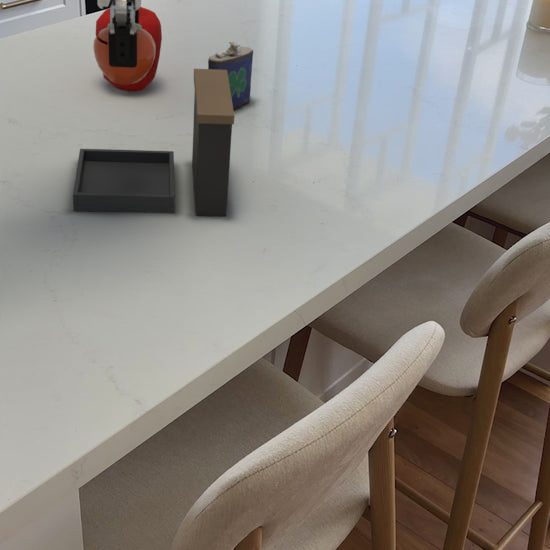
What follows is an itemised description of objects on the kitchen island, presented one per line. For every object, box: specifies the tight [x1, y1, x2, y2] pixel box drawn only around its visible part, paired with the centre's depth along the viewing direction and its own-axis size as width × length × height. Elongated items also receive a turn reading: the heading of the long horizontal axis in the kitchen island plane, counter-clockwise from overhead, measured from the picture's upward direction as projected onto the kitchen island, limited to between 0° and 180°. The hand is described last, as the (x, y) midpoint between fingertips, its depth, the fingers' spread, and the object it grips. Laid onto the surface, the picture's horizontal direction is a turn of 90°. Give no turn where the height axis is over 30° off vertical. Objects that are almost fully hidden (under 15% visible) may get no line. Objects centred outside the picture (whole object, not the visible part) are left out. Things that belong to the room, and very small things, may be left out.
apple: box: [95, 6, 163, 93], centre depth 142 cm, size 11×10×14 cm
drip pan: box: [72, 148, 176, 214], centre depth 118 cm, size 13×13×2 cm
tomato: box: [92, 23, 156, 84], centre depth 106 cm, size 7×7×8 cm
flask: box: [207, 41, 254, 111], centre depth 139 cm, size 9×3×11 cm, turn 139°
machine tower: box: [191, 68, 235, 217], centre depth 116 cm, size 4×14×14 cm, turn 6°
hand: (124, 52), depth 107 cm, fingers closed on tomato, 7 cm apart
